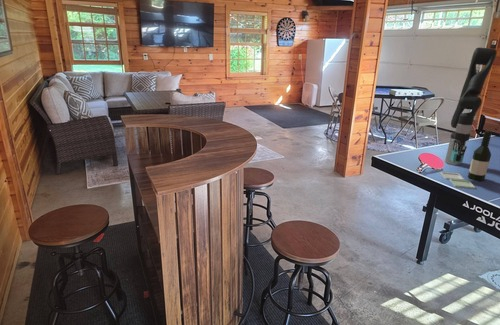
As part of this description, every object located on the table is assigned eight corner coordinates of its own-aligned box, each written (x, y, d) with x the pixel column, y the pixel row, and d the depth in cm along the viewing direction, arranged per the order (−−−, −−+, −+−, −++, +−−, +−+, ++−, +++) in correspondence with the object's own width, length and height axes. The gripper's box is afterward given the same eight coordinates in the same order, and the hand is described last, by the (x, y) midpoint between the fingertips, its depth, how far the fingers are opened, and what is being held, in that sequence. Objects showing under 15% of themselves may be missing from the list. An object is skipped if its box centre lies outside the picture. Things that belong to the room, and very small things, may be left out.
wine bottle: (477, 176, 198) (490, 128, 188) (487, 182, 191) (501, 132, 180) (464, 176, 198) (476, 128, 188) (473, 182, 190) (486, 132, 180)
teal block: (450, 159, 196) (451, 151, 194) (459, 159, 194) (461, 151, 193) (452, 161, 191) (454, 153, 189) (462, 162, 190) (464, 154, 188)
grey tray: (440, 173, 202) (440, 171, 202) (458, 175, 200) (458, 173, 199) (445, 179, 193) (445, 177, 193) (463, 181, 191) (464, 179, 190)
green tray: (449, 180, 192) (449, 178, 191) (468, 182, 189) (469, 180, 189) (454, 187, 182) (455, 185, 182) (474, 189, 180) (475, 187, 180)
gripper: (451, 128, 194) (445, 155, 200) (460, 134, 181) (453, 163, 187) (465, 129, 193) (459, 156, 198) (475, 135, 179) (467, 164, 185)
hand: (456, 159), depth 192 cm, fingers closed on teal block, 5 cm apart
